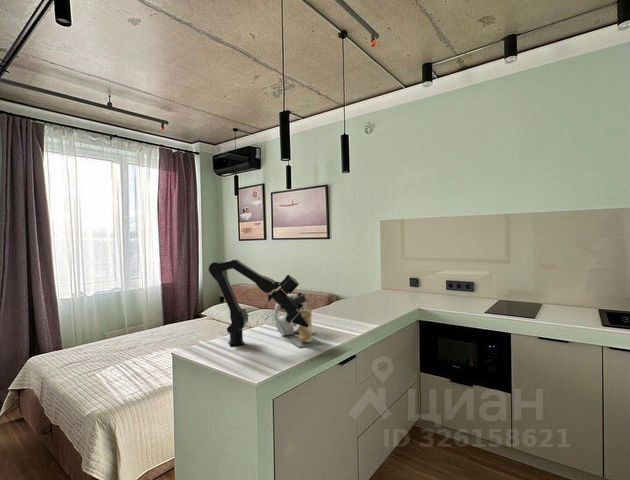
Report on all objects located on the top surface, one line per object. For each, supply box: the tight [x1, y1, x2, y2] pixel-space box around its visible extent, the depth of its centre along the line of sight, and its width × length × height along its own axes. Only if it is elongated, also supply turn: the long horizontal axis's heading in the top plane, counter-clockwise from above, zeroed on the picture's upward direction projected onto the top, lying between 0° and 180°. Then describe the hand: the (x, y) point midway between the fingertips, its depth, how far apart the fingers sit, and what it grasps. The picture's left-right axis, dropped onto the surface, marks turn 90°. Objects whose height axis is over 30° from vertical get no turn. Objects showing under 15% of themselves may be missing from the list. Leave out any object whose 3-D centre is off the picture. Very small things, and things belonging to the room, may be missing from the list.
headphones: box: [273, 293, 308, 336], centre depth 163 cm, size 18×10×20 cm, turn 126°
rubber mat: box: [289, 336, 322, 349], centre depth 148 cm, size 11×11×1 cm
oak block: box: [298, 309, 313, 342], centre depth 146 cm, size 5×5×13 cm
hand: (308, 325), depth 146 cm, fingers closed on oak block, 5 cm apart
